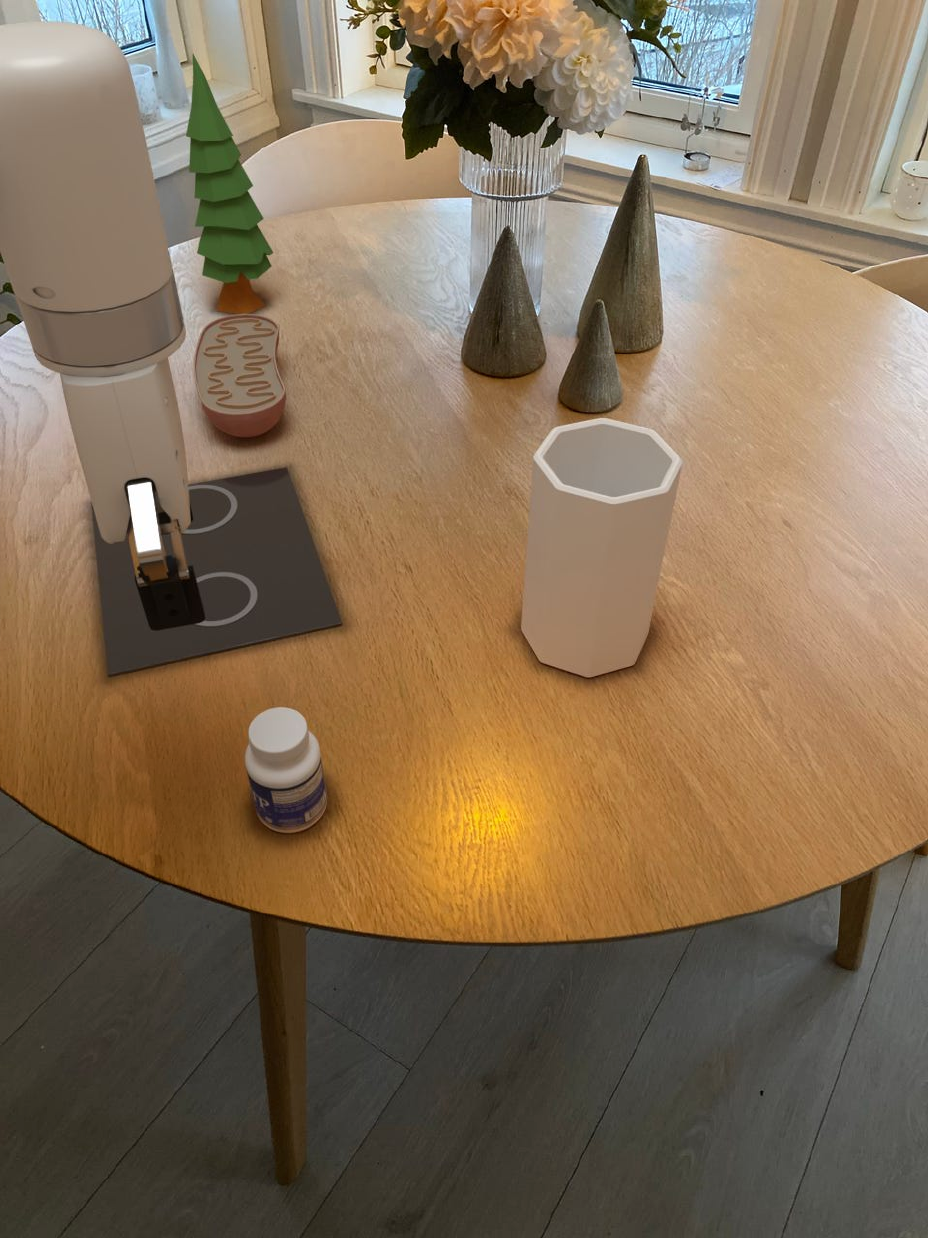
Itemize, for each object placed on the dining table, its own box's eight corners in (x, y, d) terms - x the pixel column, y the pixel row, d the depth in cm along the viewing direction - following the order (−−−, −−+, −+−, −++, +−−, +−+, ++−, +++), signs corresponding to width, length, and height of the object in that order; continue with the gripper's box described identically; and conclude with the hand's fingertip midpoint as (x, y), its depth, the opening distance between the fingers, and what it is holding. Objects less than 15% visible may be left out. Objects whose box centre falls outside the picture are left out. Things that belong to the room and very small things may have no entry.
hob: (108, 676, 80) (107, 673, 80) (91, 504, 97) (90, 500, 97) (342, 625, 85) (342, 621, 84) (287, 469, 102) (286, 465, 101)
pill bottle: (248, 789, 72) (229, 711, 66) (315, 767, 73) (303, 689, 67) (266, 845, 68) (249, 769, 62) (337, 821, 70) (326, 744, 64)
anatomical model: (293, 449, 104) (287, 409, 101) (200, 458, 103) (191, 418, 100) (282, 348, 121) (277, 310, 117) (201, 354, 119) (194, 316, 116)
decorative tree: (212, 290, 132) (168, 42, 111) (281, 287, 133) (250, 41, 112) (206, 323, 125) (158, 65, 104) (279, 320, 126) (245, 64, 105)
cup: (520, 588, 88) (532, 414, 76) (641, 591, 88) (673, 417, 75) (521, 677, 80) (535, 499, 68) (654, 681, 80) (693, 503, 67)
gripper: (33, 252, 53) (109, 500, 65) (15, 414, 41) (113, 681, 53) (171, 238, 55) (221, 483, 67) (192, 390, 43) (249, 656, 55)
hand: (173, 571), depth 60 cm, fingers open, 9 cm apart
